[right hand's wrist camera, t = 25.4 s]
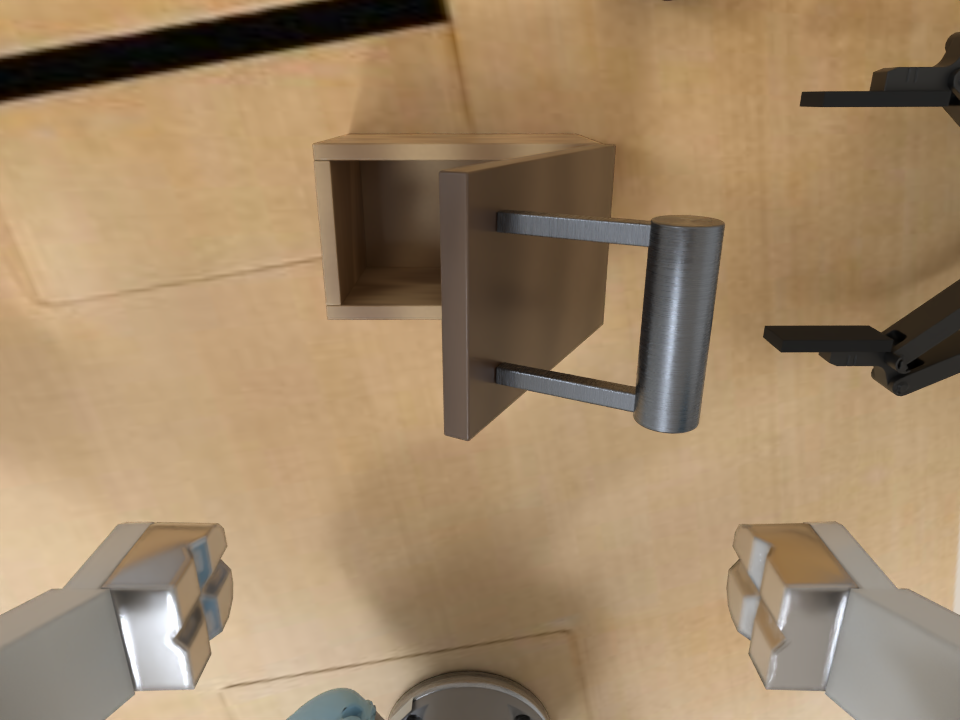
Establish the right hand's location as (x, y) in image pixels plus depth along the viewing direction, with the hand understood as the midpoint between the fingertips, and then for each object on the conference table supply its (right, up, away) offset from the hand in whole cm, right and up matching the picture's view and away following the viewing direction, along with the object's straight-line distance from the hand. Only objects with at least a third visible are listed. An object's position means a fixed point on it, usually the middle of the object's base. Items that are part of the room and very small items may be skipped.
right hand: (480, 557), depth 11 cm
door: (+2, +7, +18) cm, 20 cm away
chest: (-1, +13, +34) cm, 37 cm away
